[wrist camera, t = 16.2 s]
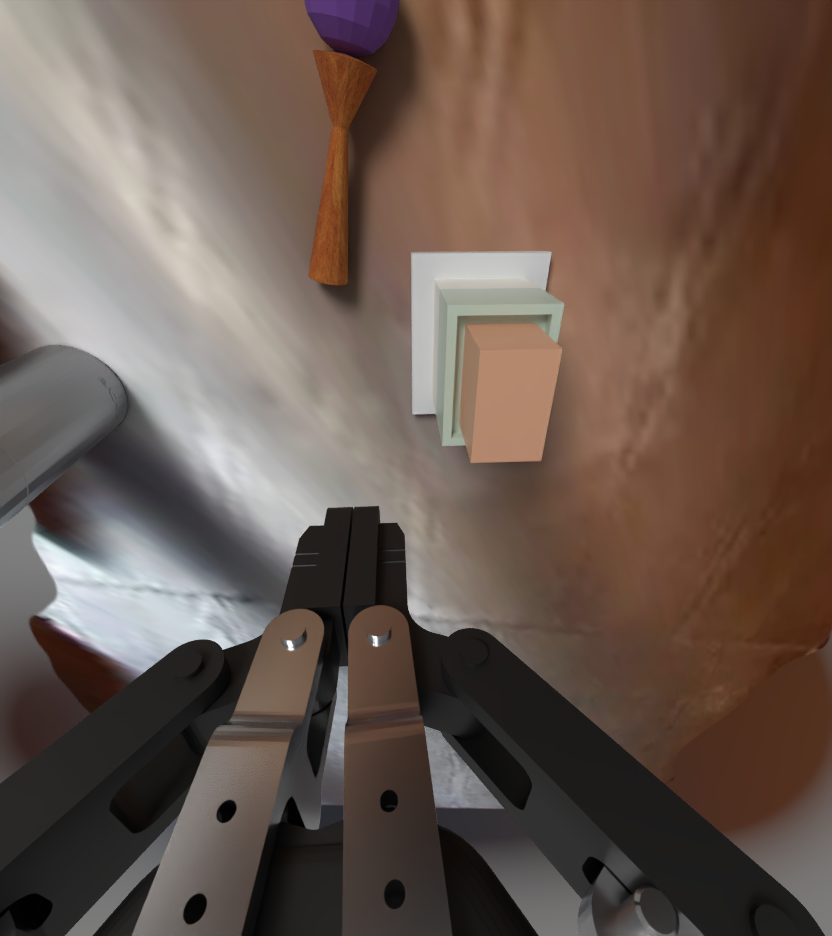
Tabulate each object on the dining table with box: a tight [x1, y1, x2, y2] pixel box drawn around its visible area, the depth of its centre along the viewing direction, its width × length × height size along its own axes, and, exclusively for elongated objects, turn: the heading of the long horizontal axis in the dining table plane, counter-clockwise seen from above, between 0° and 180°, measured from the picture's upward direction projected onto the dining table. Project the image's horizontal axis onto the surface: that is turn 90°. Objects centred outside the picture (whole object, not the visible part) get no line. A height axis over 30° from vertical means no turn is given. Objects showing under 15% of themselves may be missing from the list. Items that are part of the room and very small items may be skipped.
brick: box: [459, 322, 563, 463], centre depth 30 cm, size 8×5×6 cm, turn 0°
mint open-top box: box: [411, 251, 564, 446], centre depth 36 cm, size 15×12×11 cm
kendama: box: [305, 0, 399, 285], centre depth 30 cm, size 6×6×20 cm
